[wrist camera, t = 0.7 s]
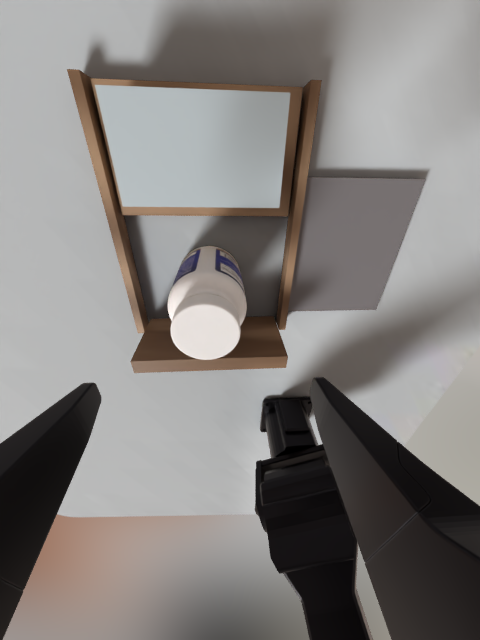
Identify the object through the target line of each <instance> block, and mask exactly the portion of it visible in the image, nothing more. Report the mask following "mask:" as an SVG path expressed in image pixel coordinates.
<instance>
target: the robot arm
mask: <svg viewBox="0 0 480 640" xmlns="http://www.w3.org/2000/svg"><path fill="white" fill-rule="evenodd" d="M310 397H311V398H286V399H266V400H264V401H263V404H262V414H261V423H260V430H261V432H267V436H268V442H269V448H270V454H271V458H270V459H267V460H263V461H261V460H260V461H257V462H256V504H255V512H256V514H257V515H258V516H259V517H260V521H261V523H262V526H263V529H264V530H265V532H267V534H268V540H269V548H270V556H271V559H272V561H273V563H274V565H275V567H276V568H277V571H278V572H279V573H283V574H284V575H285V577H286V578H287V580H288V581H289V583H290V584H291V586H292V587H293V589H294V591H295V592H296V594H297V595H298V597H299V599H300V600H301V602H302V606H303V610H304V614H305V619H306V624H307V629H308V634H309V638H310V640H373V638H372V635H371V632H370V629H369V626H368V623H367V620H366V617H365V614H364V611H363V608H362V605H361V602H360V598H359V595H358V592H357V589H356V574H357V572H356V571H357V555H358V545H359V547H360V551H361V553H362V556H363V559H364V561H365V562H366V563H365V565H366V568H367V571H368V574H369V576H370V579H371V582H372V585H373V588H374V591H375V593H376V597H377V599H378V602H379V605H380V607H381V611H382V613H383V616H384V619H385V622H386V625H387V628H388V631H389V634H390V636H391V639H392V640H480V506H479V505H478V504H476V503H475V502H473V501H472V500H471V499H470V498H468V497H467V496H466V495H464V494H463V493H462V492H460V491H459V490H458V489H456V488H455V487H454V486H453V485H451V484H450V483H449V482H447V481H446V480H445V479H443V478H442V477H441V476H439V475H438V474H437V473H436V472H434V471H433V470H432V469H430V468H429V467H428V466H427V465H425V464H424V463H423V462H422V461H420V460H419V459H418V458H417V457H416V456H414V455H413V454H412V453H411V452H410V451H408V450H407V449H406V448H405V447H404V446H403V445H402V444H400V443H399V442H397V440H396V439H394V438H393V437H392V436H391V435H390V434H389V433H388V432H386V431H385V430H384V429H383V428H382V427H381V426H379V425H378V424H377V423H376V422H375V421H374V420H373V419H371V418H370V417H369V416H368V415H367V414H366V413H364V412H363V411H362V410H361V409H360V408H359V407H358V406H356V405H355V404H354V403H353V402H352V401H351V400H349V399H348V398H347V397H346V396H345V395H344V394H343V393H341V392H340V391H339V390H338V389H337V388H336V387H334V386H333V385H332V384H331V383H330V382H329V381H327V380H326V379H325V378H323V377H315V378H314V379H313V381H312V385H311V388H310ZM100 403H101V395H100V392H99V390H98V388H97V385H96V384H95V383H83V384H81V385H80V386H79V387H77V388H76V389H74V390H73V391H72V392H70V393H69V394H68V395H66V396H65V397H64V398H62V399H61V400H59V401H58V402H57V403H55V404H54V405H53V406H51V407H50V408H48V409H47V410H46V411H44V412H43V413H42V414H40V415H39V416H38V417H36V418H35V419H33V420H32V421H31V422H29V423H28V424H27V425H25V426H24V427H22V428H21V429H20V430H18V431H17V432H16V433H14V434H13V435H12V436H10V437H9V438H7V439H6V440H5V441H3V442H2V443H1V444H0V640H3V637H4V635H5V632H6V630H7V628H8V626H9V623H10V621H11V618H12V617H13V614H14V612H15V610H16V607H17V605H18V602H19V600H20V598H21V596H22V593H23V590H24V588H25V586H26V583H27V581H28V579H29V577H30V575H31V572H32V570H33V568H34V565H35V563H36V561H37V558H38V556H39V554H40V551H41V549H42V547H43V544H44V542H45V540H46V538H47V535H48V533H49V531H50V528H51V526H52V524H53V522H54V519H55V517H56V515H57V512H58V510H59V508H60V505H61V503H62V501H63V498H64V496H65V494H66V492H67V489H68V487H69V485H70V482H71V480H72V478H73V475H74V473H75V471H76V469H77V466H78V464H79V462H80V459H81V457H82V455H83V452H84V450H85V448H86V445H87V443H88V441H89V438H90V435H91V432H92V429H93V426H94V422H95V419H96V416H97V413H98V410H99V407H100ZM312 406H313V410H314V414H315V419H316V423H317V427H318V431H319V434H320V437H321V440H322V442H323V444H321V445H318V443H317V440H316V437H315V434H314V431H313V429H312V426H311V423H310V420H309V415H310V412H311V408H312Z"/></svg>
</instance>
